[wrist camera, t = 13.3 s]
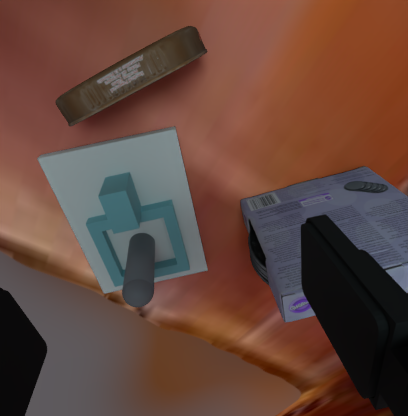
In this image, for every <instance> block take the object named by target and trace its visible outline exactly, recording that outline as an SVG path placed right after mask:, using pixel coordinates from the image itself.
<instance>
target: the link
mask: <svg viewBox="0 0 408 416" xmlns="http://www.w3.org/2000/svg"><path fill="white" fill-rule="evenodd" d="M98 198H99V200H100V202H101V205H102V207H103V210H104V212H105V214H104V215H100V216H95V217H91V218H88V220H87V222H86V226H87V228H88V231H89V233H90V235H91V237H92V239H93V241H94V243H95V246H96V248H97V250H98V252H99V254H100V256H101V258H102V260H103V263H104V265H105V267H106V269H107V271H108V273H109V275H110V277H111V280H112V282H113V284H114V286H115V287H117V286H121V285H123V282H124V275H125V269H124V270H123V269H122V266H121V264H120V262H119V259H118V257H117V255H116V252H115V250H114V248H113V246H112V243H111V241H110V239H109V236H108V234H107V232H106V230H110V229H112V231H113V233H114V234H116V233H121V232H125V231H130V230H134V229H138V228H139V227H140V223H142V222H146V221H150V220H155V219H159V218H164V221H165V225H166V228H167V231H168V234H169V238H170V241H171V244H172V248H173V251H174V254H175V258H173V259H168V260H164V261H160V262H155V270H154V278H156V277H161V276H165V275H169V274H174V273H178V272H183V271H187V270H190V265H189V261H188V257H187V253H186V250H185V246H184V242H183V239H182V235H181V231H180V228H179V224H178V220H177V217H176V213H175V209H174V206H173V202H172V199H171V200H167V201H162V202H158V203H153V204H149V205H144V206H141V203H140V200H139V198H138V195H137V192H136V189H135V186H134V183H133V180H132V177H131V174H130V172H127V173H123V174H118V175H114V176H109V177H105V180H104V182H103V185H102V187H101V190H100V193H99V195H98Z"/></svg>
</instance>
